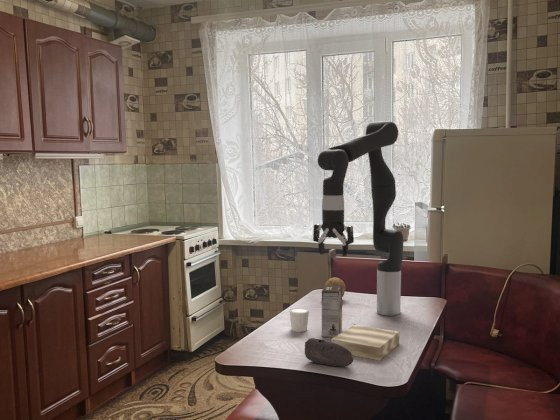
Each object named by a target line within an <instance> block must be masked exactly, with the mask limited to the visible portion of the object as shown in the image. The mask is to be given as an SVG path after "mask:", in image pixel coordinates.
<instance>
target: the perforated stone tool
mask: <svg viewBox="0 0 560 420" xmlns="http://www.w3.org/2000/svg"><path fill="white" fill-rule="evenodd" d="M304 356H305V358H306V359H307V360H308V361H312V362H314V363H317V364H321V365H327V366H333V367H342V368H343V367H344V368H345V367H350V365H352V364H353V362H354V357H353V355H352V354H351V352H350V351H349V350H348V349H346V348H345V347H343V346H341V345H338V344H336V343H333V342H332V341H329V340H325V339H321V338H317V337H316V338H315V337H311V338H308V339H307V340H306V341H305V342H304Z"/></svg>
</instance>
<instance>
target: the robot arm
mask: <svg viewBox="0 0 560 420" xmlns="http://www.w3.org/2000/svg"><path fill="white" fill-rule="evenodd" d="M398 137H399V129H398V125H397V124H396V123H394V122H393V121H390V120H388V121H387V120H384V121H370V122H369V123H368V124H367V125H366V129H365V134H364V135H361V136H357V137H354V138H351V139H349V140H347V141H345V142H343V143H341V144H339V145H336V146H332V147H329V148H325V149H324V150H322V151H320V153H319V155H318V157H317V164H318V166H319V168H320V169H322V170H324V171H332V174H331V176H330V177H329V176H328V177H326V178H324V179H323V181H322V201H321V218H322V219H321V220H322V223H321V224H320V223H316V224H313V234H312V241H313V242H316V243H317V244H318V253H319V254H320V255H324V254H325V243H324V242H325V241H326V239H328V238H329V239H330V238H333V239H337V240H339V241H340V242H341V244H342V248H341V249H342V254H341V255H342V257H347V255H348V254H349V245H351V244H353V243H354V242H355V240H354V226H353V225H349V226H346V225H345V200H344V199H345V198H344V197H345V196H344V182H345V179H346V175H347V171H348V167H349V163H351V162H353V161H355V160H357V159H359V158H361V157H363V156H364V155H366V154H367V155H368V160H369V172H370V173H369V174H370V188H371V191H370V192H371V198H372V212H373V213H372V214H373V215H372V216H373V217H372V218H373V221H372V225H373V226H372V244H373V247H374V249H375V251H377V252H380V253H386V254H389V255H388V258H387V259H384V260H381V261H379V262H377V265H376V266H377V267H376V280H377V281H376V313H377V314H378V315H383V316H398V315H400V314H401V305H402V304H401V301H402V300H401V298H402V295H401V291H402V265H403V255H404V253H403V252H404V236H403V233H402V231H400V229H399V230H398V229H388V228H386V218H387V215H388V212H389V211H390V209H391V207H392V206H393V204H394V202H395V200H396V197H397V190H396V189H397V188H396V178H395V176H394V174H393V172H392V170H391V169H390V167H389V166H388V165H387V163H386V161H385V159H384V157H383V152H382V148H384V147H385V148H386V147H387V146H393V145H394V144H395V143H396V142H397V140H398ZM321 230H322V232H323V233H322V234H321V233H320V231H321ZM344 231H345V232H346V234H347V237H346V235H345V233H344Z"/></svg>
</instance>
